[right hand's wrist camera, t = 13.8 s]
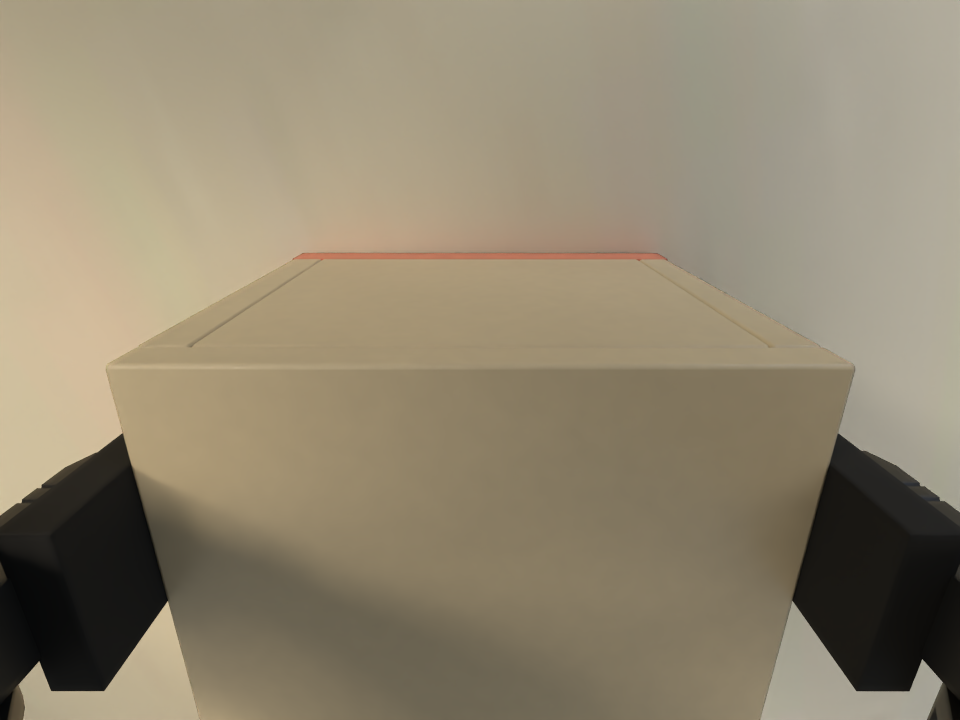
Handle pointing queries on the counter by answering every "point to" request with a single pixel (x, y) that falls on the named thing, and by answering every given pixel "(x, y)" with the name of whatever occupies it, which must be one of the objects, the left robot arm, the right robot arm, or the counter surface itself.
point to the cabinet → (480, 488)
